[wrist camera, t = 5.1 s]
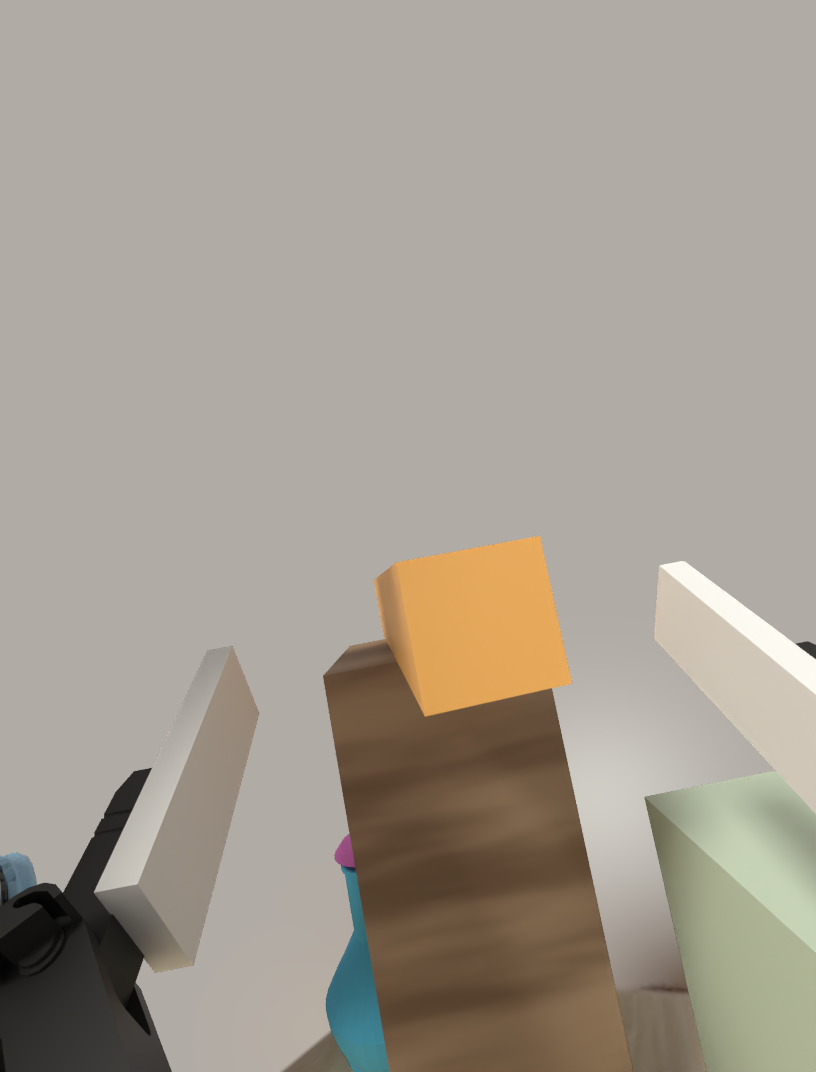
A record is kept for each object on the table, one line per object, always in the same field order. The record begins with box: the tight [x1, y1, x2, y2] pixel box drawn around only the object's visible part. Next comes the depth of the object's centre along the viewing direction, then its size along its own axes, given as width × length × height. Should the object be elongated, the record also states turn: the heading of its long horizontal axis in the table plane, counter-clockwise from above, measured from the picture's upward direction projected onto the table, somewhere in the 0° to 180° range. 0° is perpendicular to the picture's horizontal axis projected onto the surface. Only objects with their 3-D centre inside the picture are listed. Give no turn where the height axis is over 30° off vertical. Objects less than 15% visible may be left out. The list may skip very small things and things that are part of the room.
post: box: [323, 639, 633, 1072], centre depth 25 cm, size 10×10×30 cm
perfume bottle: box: [326, 834, 390, 1072], centre depth 35 cm, size 9×9×15 cm
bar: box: [374, 536, 572, 717], centre depth 23 cm, size 22×4×4 cm, turn 5°
